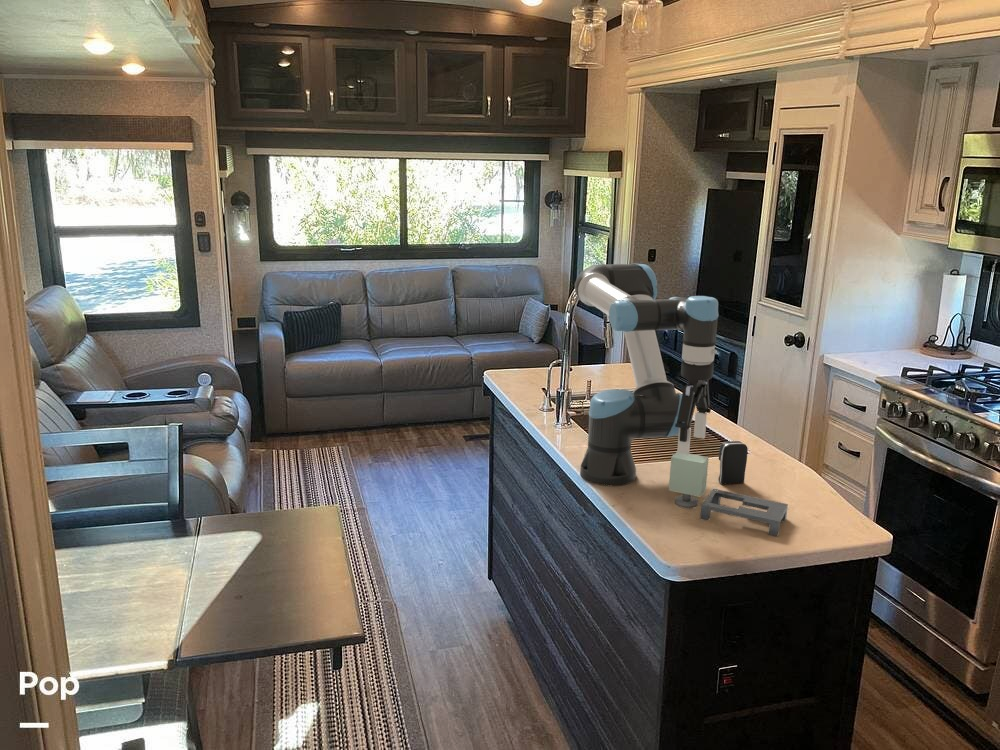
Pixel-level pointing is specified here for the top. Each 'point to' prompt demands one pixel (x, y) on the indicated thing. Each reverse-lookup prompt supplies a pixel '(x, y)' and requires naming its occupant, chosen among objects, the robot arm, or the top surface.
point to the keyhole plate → (746, 509)
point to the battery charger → (732, 462)
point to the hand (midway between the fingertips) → (691, 445)
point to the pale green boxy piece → (688, 478)
